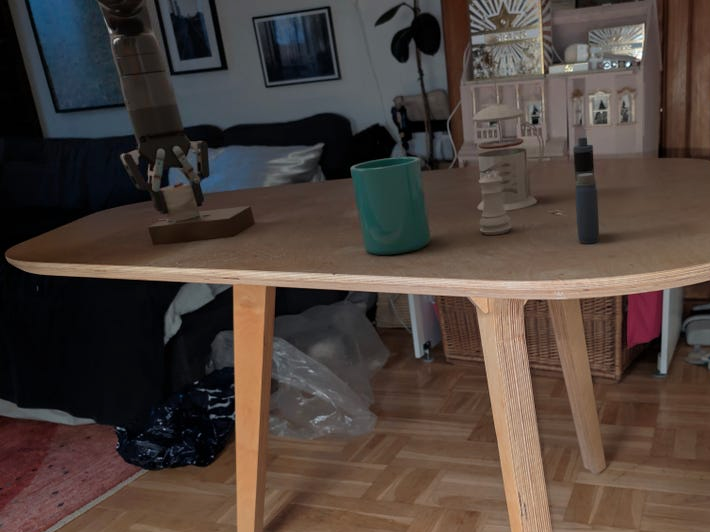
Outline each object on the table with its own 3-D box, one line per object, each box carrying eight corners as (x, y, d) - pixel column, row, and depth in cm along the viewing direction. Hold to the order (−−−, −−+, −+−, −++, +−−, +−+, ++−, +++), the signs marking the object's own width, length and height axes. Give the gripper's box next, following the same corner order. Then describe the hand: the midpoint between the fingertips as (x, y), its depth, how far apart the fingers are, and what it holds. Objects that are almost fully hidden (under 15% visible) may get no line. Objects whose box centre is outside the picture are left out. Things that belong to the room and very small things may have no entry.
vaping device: (597, 232, 90) (592, 136, 85) (600, 243, 85) (595, 141, 80) (577, 234, 90) (571, 138, 86) (578, 245, 86) (572, 143, 81)
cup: (443, 231, 101) (432, 151, 97) (421, 254, 90) (407, 165, 86) (384, 235, 103) (371, 157, 99) (355, 258, 92) (339, 171, 88)
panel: (149, 245, 117) (143, 226, 115) (176, 231, 126) (171, 213, 125) (233, 236, 115) (228, 217, 114) (254, 222, 124) (250, 205, 123)
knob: (192, 219, 117) (183, 186, 115) (162, 222, 117) (152, 189, 115) (204, 212, 122) (195, 180, 120) (175, 216, 122) (166, 184, 120)
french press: (488, 198, 120) (471, 38, 110) (554, 195, 116) (542, 29, 106) (468, 212, 111) (447, 40, 101) (538, 209, 107) (524, 30, 97)
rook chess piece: (494, 226, 100) (488, 169, 97) (518, 228, 97) (512, 169, 94) (473, 234, 97) (466, 175, 94) (497, 236, 94) (490, 176, 91)
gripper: (111, 109, 106) (145, 221, 112) (203, 97, 114) (230, 202, 121) (98, 111, 111) (131, 217, 118) (187, 99, 119) (213, 199, 126)
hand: (181, 209), depth 119 cm, fingers closed on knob, 5 cm apart
